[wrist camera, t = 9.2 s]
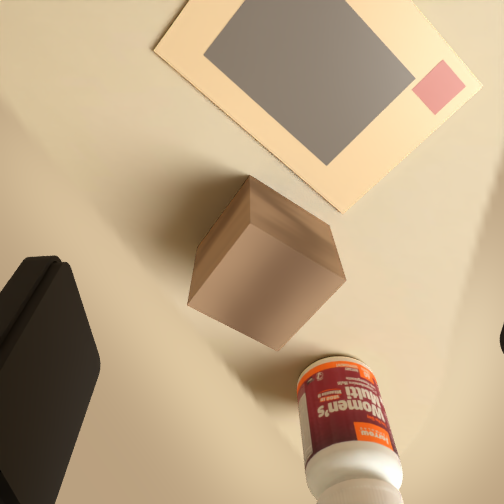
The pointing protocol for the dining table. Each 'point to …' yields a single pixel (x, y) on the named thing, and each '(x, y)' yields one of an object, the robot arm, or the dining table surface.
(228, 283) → the walnut block
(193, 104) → the dining table surface
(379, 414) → the pill bottle
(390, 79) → the letter
